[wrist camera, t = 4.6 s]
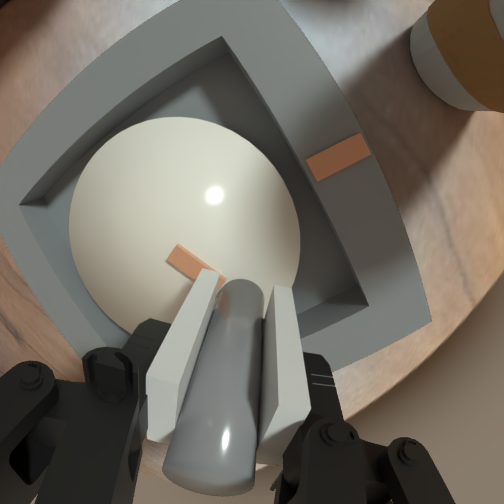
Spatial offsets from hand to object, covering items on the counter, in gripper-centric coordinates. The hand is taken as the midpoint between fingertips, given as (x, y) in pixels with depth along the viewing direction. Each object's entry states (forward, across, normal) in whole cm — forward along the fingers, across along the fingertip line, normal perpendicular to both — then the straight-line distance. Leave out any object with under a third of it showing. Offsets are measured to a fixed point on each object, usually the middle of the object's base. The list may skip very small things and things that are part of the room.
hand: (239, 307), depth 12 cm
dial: (+3, -4, +1) cm, 5 cm away
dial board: (+4, -4, +1) cm, 6 cm away
